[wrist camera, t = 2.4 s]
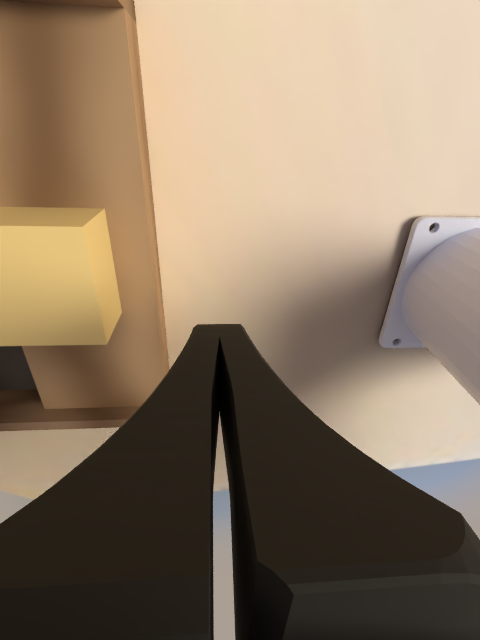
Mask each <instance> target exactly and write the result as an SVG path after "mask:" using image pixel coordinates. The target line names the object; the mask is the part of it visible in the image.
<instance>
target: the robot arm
mask: <svg viewBox="0 0 480 640" xmlns="http://www.w3.org/2000/svg"><path fill="white" fill-rule="evenodd" d="M433 223H435V226H434V228H433V229H432V230H430V231H429V227H430V226H431V225H432V224H433ZM395 339H397V340H396V341H395V342H393V341H394V340H395ZM379 343H380V345H381V346H382V347H383V348H427V349H428V350H429V351H430V352H431V353H432V354H433V355H434V356H435V358H436V359H437V360H438V361H439V362H440V363H441V364H442V365H443V366H444V367H445V368H446V369H447V370H448V371H449V372H450V374H451V375H452V376H453V377H454V378H455V379H456V380H457V381H458V382H459V383H460V384H461V385H462V386H463V387H464V389H465V390H466V391H467V392H468V393H469V394H470V395H471V396H472V397H473V398H474V399H475V400H476V401H477V402H478V403H479V405H480V217H458V216H421V217H419V218H417V219H416V220H415V221H414V222H413V224H412V227H411V230H410V234H409V237H408V241H407V244H406V248H405V251H404V254H403V258H402V261H401V265H400V268H399V272H398V275H397V278H396V282H395V285H394V289H393V292H392V296H391V299H390V302H389V306H388V309H387V313H386V316H385V319H384V323H383V326H382V330H381V333H380V337H379ZM219 411H220V419H221V427H222V435H223V443H224V450H225V458H226V466H227V474H228V481H229V492H230V507H231V531H232V554H233V555H232V556H233V581H234V582H233V584H234V610H235V611H234V612H235V636H236V637H235V638H236V640H480V540H479V538H478V537H477V535H476V534H475V533H474V532H473V530H472V528H471V527H470V526H469V524H468V523H467V522H466V520H465V519H464V517H463V516H462V515H461V513H459V512H458V511H456V510H454V509H452V508H451V507H449V506H447V505H446V504H444V503H442V502H441V501H439V500H437V499H436V498H434V497H432V496H430V495H428V494H427V493H425V492H424V491H422V490H420V489H418V488H417V487H415V486H413V485H412V484H410V483H408V482H407V481H405V480H403V479H402V478H400V477H399V476H397V475H395V474H394V473H392V472H391V471H389V470H388V469H386V468H385V467H383V466H382V465H380V464H379V463H377V462H376V461H375V460H373V459H372V458H370V457H369V456H367V455H366V454H364V453H363V452H362V451H360V450H359V449H357V448H356V447H355V446H353V445H352V444H351V443H349V442H348V441H347V440H346V439H344V438H343V437H342V436H340V435H339V434H338V433H337V432H335V431H334V430H333V429H331V428H330V427H329V426H328V425H326V424H325V423H324V422H323V421H322V420H321V419H319V418H318V417H317V416H316V415H315V414H314V413H313V412H312V411H311V410H309V409H308V408H307V407H306V406H305V405H304V404H303V403H302V402H301V401H300V400H299V399H298V398H297V397H296V396H295V395H294V394H293V393H292V392H291V391H290V390H289V388H288V387H287V386H286V385H285V384H284V383H283V382H282V381H281V379H280V378H279V377H278V376H277V375H276V374H275V372H274V371H273V370H272V369H271V367H270V366H269V365H268V363H267V362H266V361H265V360H264V358H263V357H262V356H261V354H260V353H259V351H258V350H257V349H256V347H255V346H254V344H253V343H252V341H251V339H250V338H249V336H248V335H247V333H246V331H245V329H244V327H243V326H242V325H241V324H203V325H196V326H195V327H194V328H193V331H192V333H191V335H190V337H189V339H188V341H187V343H186V345H185V347H184V348H183V350H182V352H181V353H180V355H179V356H178V358H177V360H176V361H175V363H174V364H173V366H172V367H171V369H170V370H169V372H168V373H167V374H166V376H165V377H164V378H163V380H162V381H161V382H160V384H159V385H158V386H157V388H156V389H155V390H154V391H153V393H152V394H151V395H150V396H149V397H148V399H147V400H146V401H145V402H144V403H143V404H142V405H141V407H140V408H139V409H138V410H137V411H136V412H135V413H134V414H133V415H132V416H131V417H130V418H129V419H128V420H127V421H126V422H125V423H124V424H123V425H122V426H121V427H120V428H119V429H118V430H117V431H116V432H115V433H114V434H113V435H112V436H111V437H110V438H109V439H108V440H107V441H106V442H105V443H104V444H103V445H101V446H100V447H99V448H98V449H97V450H96V451H95V452H94V453H92V454H91V455H90V456H89V457H88V458H86V459H85V460H84V461H83V462H82V463H80V464H79V465H78V466H77V467H75V468H74V469H73V470H72V471H71V472H69V473H68V474H67V475H66V476H65V477H63V478H62V479H61V480H60V481H58V482H57V483H56V484H55V485H53V486H52V487H51V488H50V489H48V490H47V491H46V492H44V493H43V494H42V495H40V496H39V497H38V498H36V499H35V500H33V501H32V502H30V503H29V504H28V505H26V506H25V507H23V508H22V509H21V510H19V511H18V512H16V513H15V514H14V515H12V516H11V517H9V518H8V519H6V520H5V521H4V522H2V523H1V524H0V640H214V636H213V484H214V471H215V459H216V447H217V434H218V422H219Z"/></svg>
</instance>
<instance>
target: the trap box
mask: <svg viewBox="0 0 480 640" xmlns="http://www.w3.org/2000/svg"><path fill="white" fill-rule="evenodd" d="M0 207H44V208H104V209H105V214H106V220H107V226H108V232H109V238H110V244H111V250H112V256H113V262H114V268H115V274H116V280H117V286H118V292H119V298H120V303H121V309H122V313H121V315H120V318H119V320H118V322H117V324H116V326H115V328H114V330H113V333H112V335H111V337H110V339H109V341H108V343H107V345H52V346H0V431H18V430H49V429H80V428H111V427H121V426H122V425H123V424H124V423H125V422H126V421H127V420H128V419H129V418H130V417H131V416H132V415H133V414H134V413H135V412H136V411H137V410H138V409H139V408H140V407H141V405H142V404H143V403H144V402H145V401H146V400H147V399H148V397H149V396H150V395H151V394H152V393H153V391H154V390H155V389H156V388H157V386H158V385H159V384H160V382H161V381H162V380H163V378H164V377H165V376H166V374H167V373H168V372H169V363H168V352H167V342H166V331H165V321H164V310H163V300H162V289H161V279H160V268H159V258H158V247H157V237H156V226H155V216H154V205H153V195H152V185H151V174H150V164H149V153H148V143H147V132H146V122H145V111H144V101H143V90H142V80H141V69H140V59H139V48H138V38H137V27H136V17H135V6H134V1H133V0H0Z"/></svg>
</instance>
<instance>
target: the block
mask: <svg viewBox="0 0 480 640" xmlns="http://www.w3.org/2000/svg"><path fill="white" fill-rule="evenodd" d="M121 313H122V309H121V303H120V298H119V292H118V286H117V280H116V274H115V268H114V262H113V256H112V250H111V244H110V238H109V232H108V226H107V220H106V214H105V209H104V208H44V207H0V346H52V345H107V343H108V341H109V339H110V337H111V335H112V333H113V330H114V328H115V326H116V324H117V322H118V320H119V318H120V315H121Z"/></svg>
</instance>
